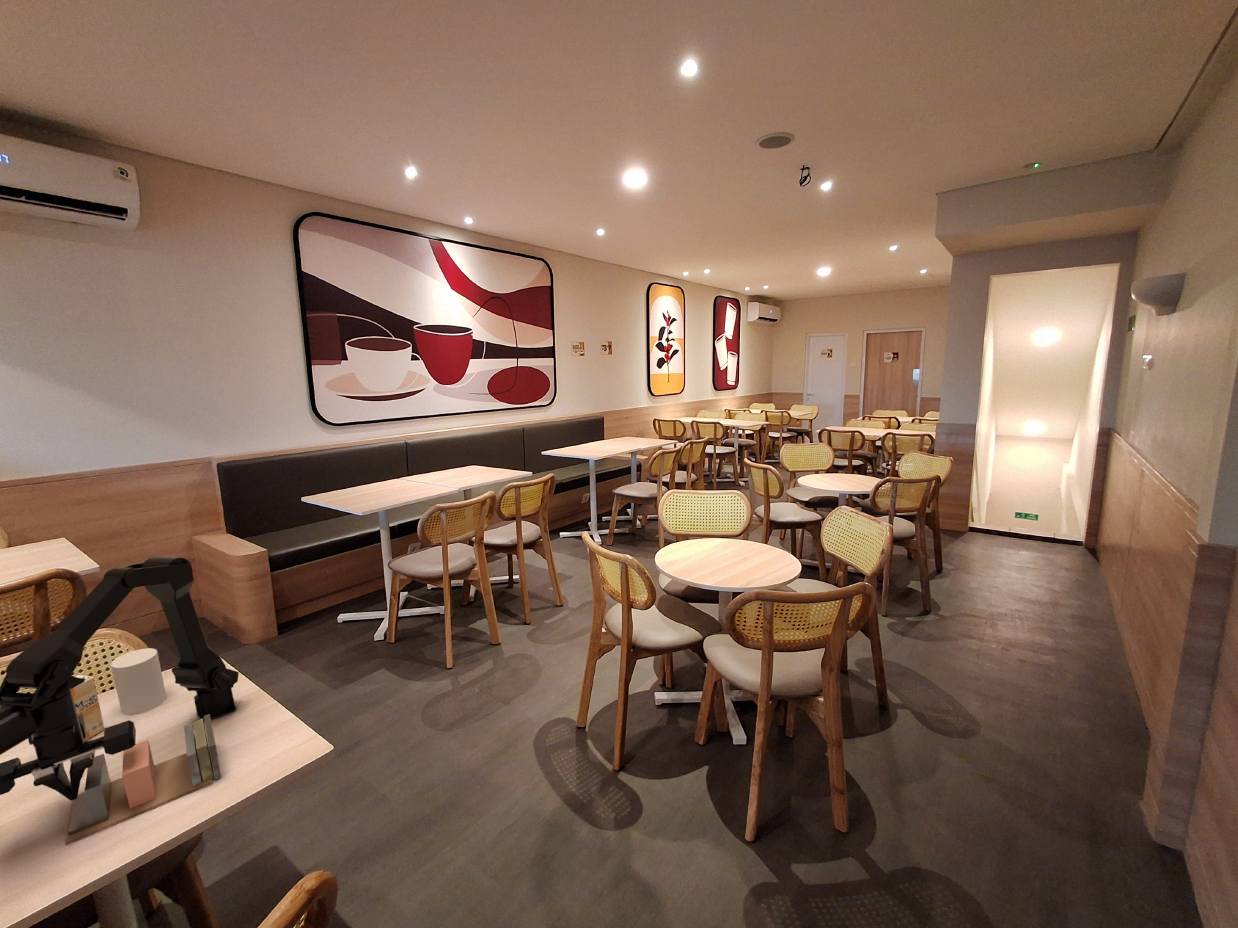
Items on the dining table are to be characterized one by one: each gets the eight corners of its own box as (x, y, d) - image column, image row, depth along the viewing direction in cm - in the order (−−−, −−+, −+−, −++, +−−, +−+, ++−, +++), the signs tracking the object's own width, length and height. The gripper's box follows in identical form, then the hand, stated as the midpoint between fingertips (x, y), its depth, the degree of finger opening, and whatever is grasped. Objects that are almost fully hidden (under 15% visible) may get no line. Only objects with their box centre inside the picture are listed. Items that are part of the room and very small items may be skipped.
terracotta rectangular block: (155, 770, 107) (148, 739, 105) (155, 797, 100) (148, 765, 99) (131, 779, 105) (123, 748, 103) (130, 808, 98) (122, 775, 96)
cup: (138, 694, 132) (128, 649, 130) (174, 691, 133) (165, 647, 130) (111, 716, 124) (100, 668, 122) (150, 713, 125) (140, 666, 123)
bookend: (111, 785, 103) (103, 753, 102) (108, 818, 96) (100, 784, 94) (74, 799, 100) (66, 766, 98) (69, 835, 92) (59, 800, 91)
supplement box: (62, 756, 112) (48, 699, 109) (44, 752, 113) (29, 697, 110) (107, 729, 120) (94, 675, 117) (89, 726, 121) (76, 673, 118)
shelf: (215, 744, 115) (209, 712, 113) (221, 779, 105) (215, 745, 103) (73, 798, 101) (64, 763, 99) (65, 845, 91) (55, 807, 90)
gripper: (127, 678, 105) (143, 748, 108) (-18, 721, 93) (5, 798, 96) (125, 706, 96) (143, 781, 100) (-34, 757, 85) (-8, 840, 88)
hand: (74, 798), depth 96 cm, fingers closed
